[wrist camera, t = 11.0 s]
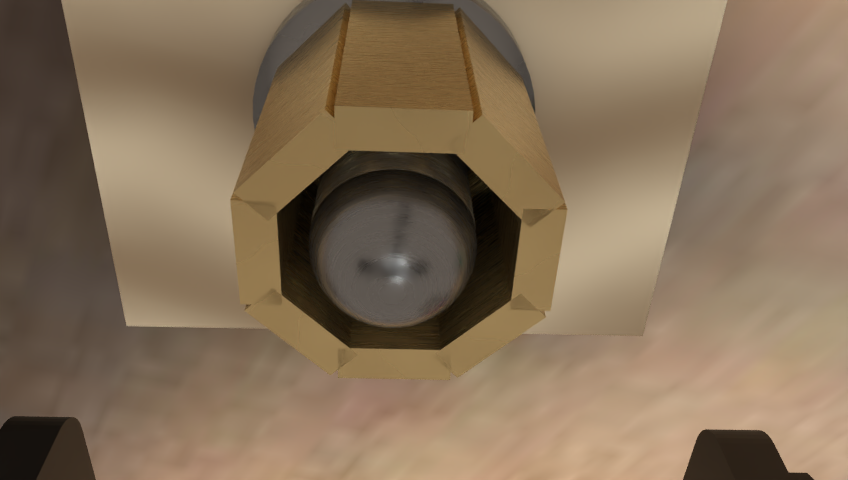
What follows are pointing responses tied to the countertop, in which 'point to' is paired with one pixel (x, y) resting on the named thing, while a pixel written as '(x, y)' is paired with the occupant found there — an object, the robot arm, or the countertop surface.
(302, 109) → the collar
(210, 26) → the board
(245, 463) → the countertop surface
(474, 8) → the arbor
